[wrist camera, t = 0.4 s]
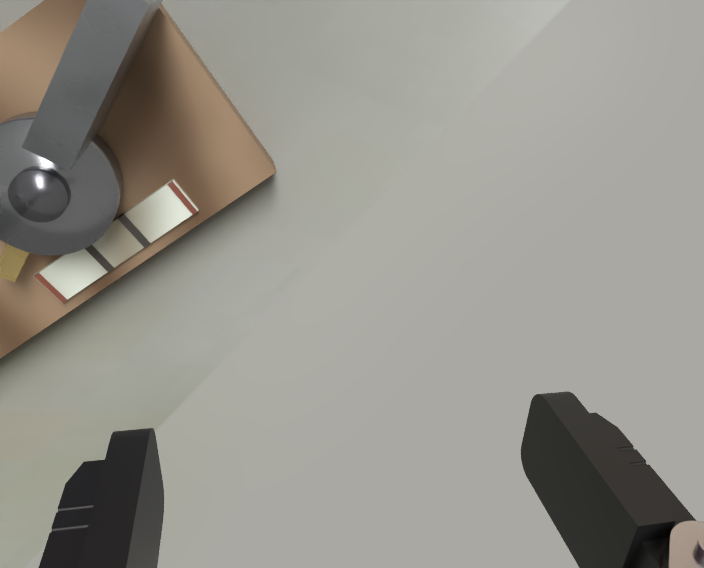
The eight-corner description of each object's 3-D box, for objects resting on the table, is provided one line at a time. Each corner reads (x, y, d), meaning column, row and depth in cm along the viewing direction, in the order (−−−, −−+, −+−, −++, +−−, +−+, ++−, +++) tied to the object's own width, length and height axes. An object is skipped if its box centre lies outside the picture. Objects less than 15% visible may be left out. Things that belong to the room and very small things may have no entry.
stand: (-34, 369, 35) (-50, 394, 33) (-235, 213, 29) (-269, 231, 27) (273, 161, 33) (277, 173, 31) (122, -51, 27) (114, -53, 25)
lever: (-58, 241, 29) (-119, 298, 24) (70, -62, 25) (29, -72, 19) (73, 294, 32) (44, 357, 26) (210, 29, 27) (208, 41, 22)
